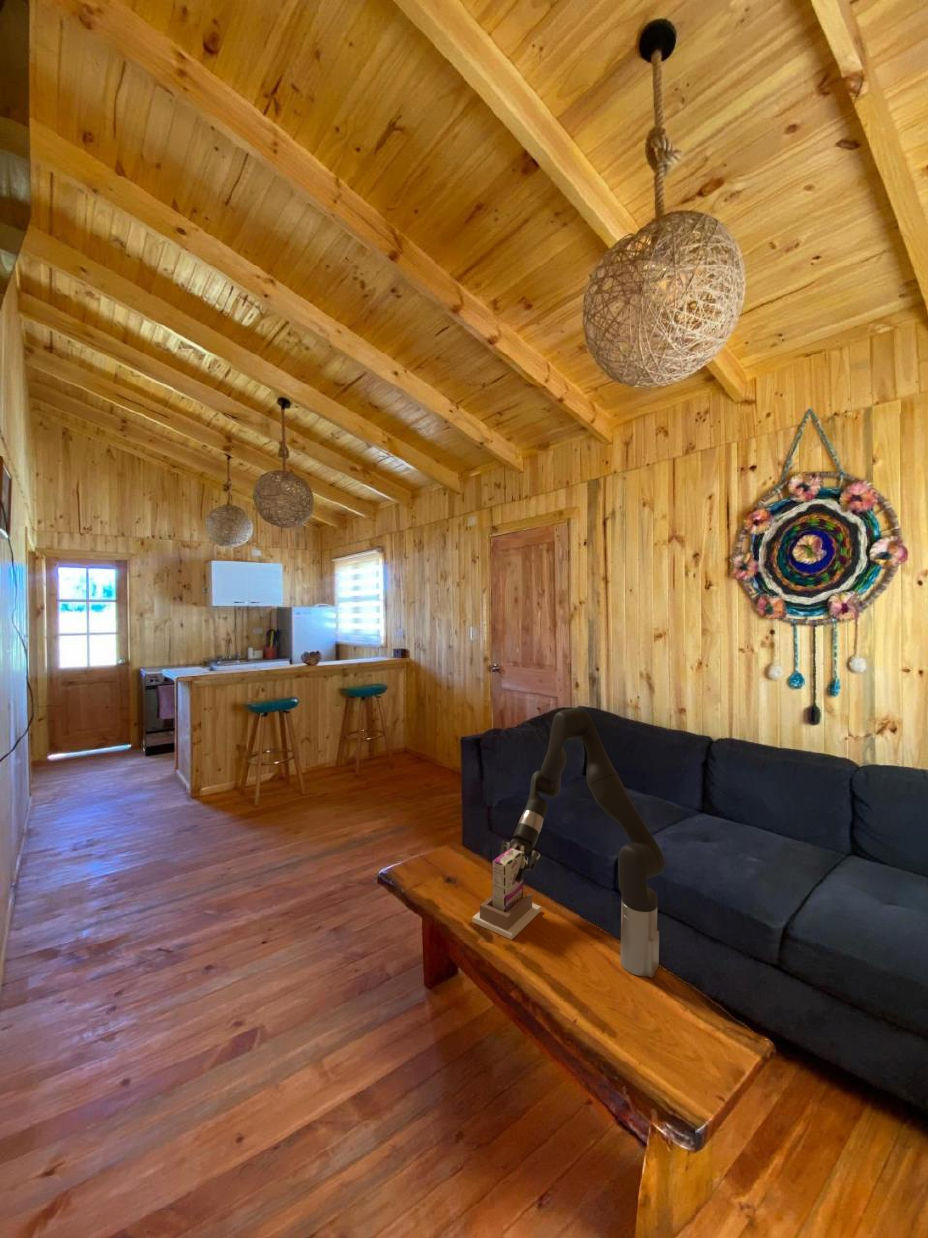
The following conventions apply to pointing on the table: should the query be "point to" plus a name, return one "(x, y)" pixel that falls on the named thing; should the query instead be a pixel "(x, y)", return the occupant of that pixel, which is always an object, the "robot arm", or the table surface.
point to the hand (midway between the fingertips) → (509, 878)
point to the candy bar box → (507, 880)
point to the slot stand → (506, 916)
